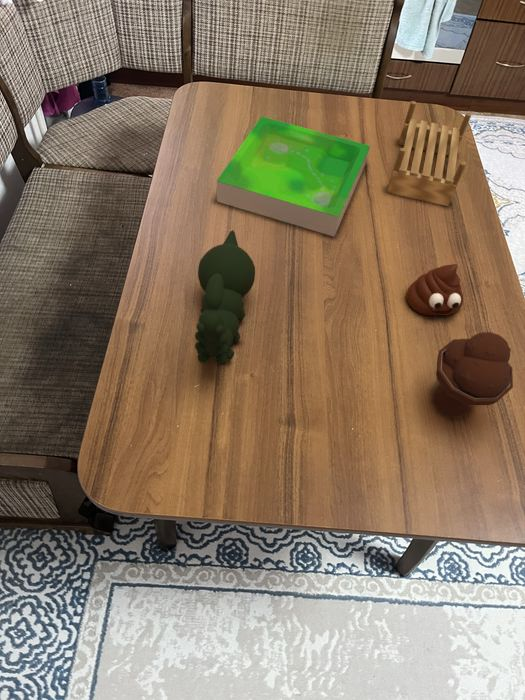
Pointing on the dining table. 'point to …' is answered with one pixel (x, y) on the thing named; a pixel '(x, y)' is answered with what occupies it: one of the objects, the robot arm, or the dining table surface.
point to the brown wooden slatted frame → (427, 160)
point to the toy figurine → (222, 299)
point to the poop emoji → (436, 292)
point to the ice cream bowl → (473, 373)
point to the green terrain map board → (293, 175)
